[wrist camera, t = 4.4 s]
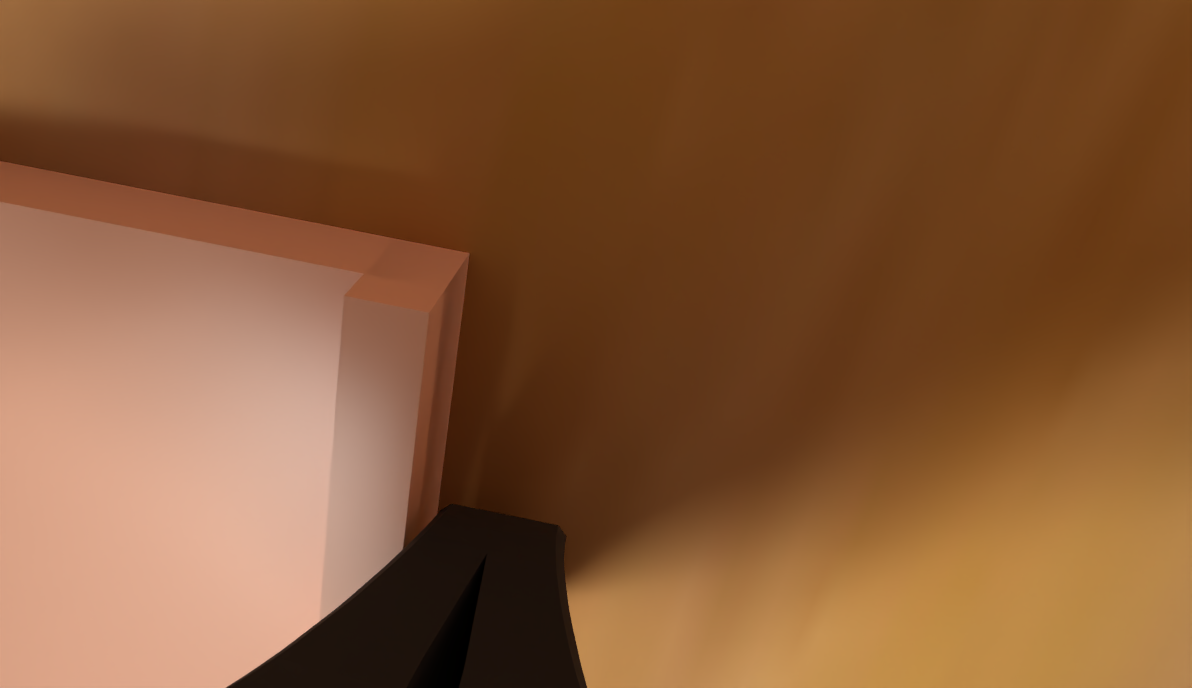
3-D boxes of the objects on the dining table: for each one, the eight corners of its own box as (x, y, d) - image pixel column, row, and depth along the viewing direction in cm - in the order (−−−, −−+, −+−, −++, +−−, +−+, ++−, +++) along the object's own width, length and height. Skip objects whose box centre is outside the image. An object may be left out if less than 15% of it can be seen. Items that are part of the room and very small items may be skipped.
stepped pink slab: (472, 251, 11) (429, 312, 10) (410, 739, 14) (369, 852, 13) (-335, 92, 12) (-509, 127, 10) (-236, 604, 14) (-358, 695, 13)
